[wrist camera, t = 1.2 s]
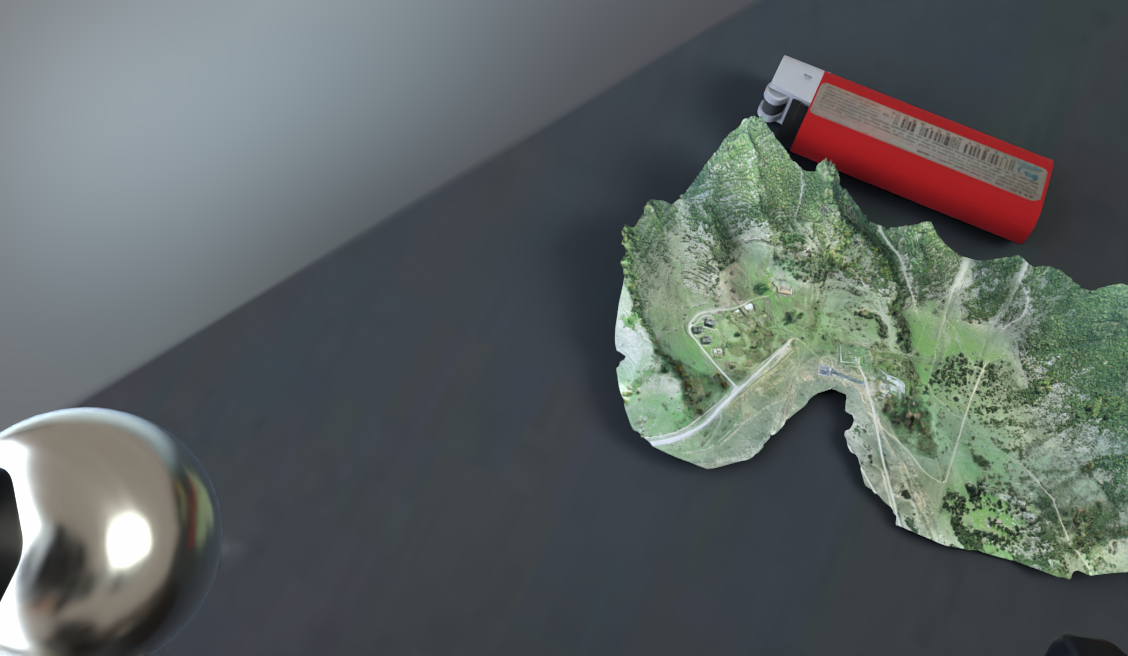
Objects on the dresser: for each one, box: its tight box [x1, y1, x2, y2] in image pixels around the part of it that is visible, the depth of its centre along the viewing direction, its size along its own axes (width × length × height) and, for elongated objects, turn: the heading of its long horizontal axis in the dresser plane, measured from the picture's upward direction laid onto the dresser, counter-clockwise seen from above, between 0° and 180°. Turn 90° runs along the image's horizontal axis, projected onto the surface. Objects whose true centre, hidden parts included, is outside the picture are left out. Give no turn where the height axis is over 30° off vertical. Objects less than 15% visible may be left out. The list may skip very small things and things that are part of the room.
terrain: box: [615, 115, 1128, 579], centre depth 26 cm, size 15×9×2 cm, turn 64°
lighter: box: [758, 55, 1053, 244], centre depth 30 cm, size 3×1×8 cm
